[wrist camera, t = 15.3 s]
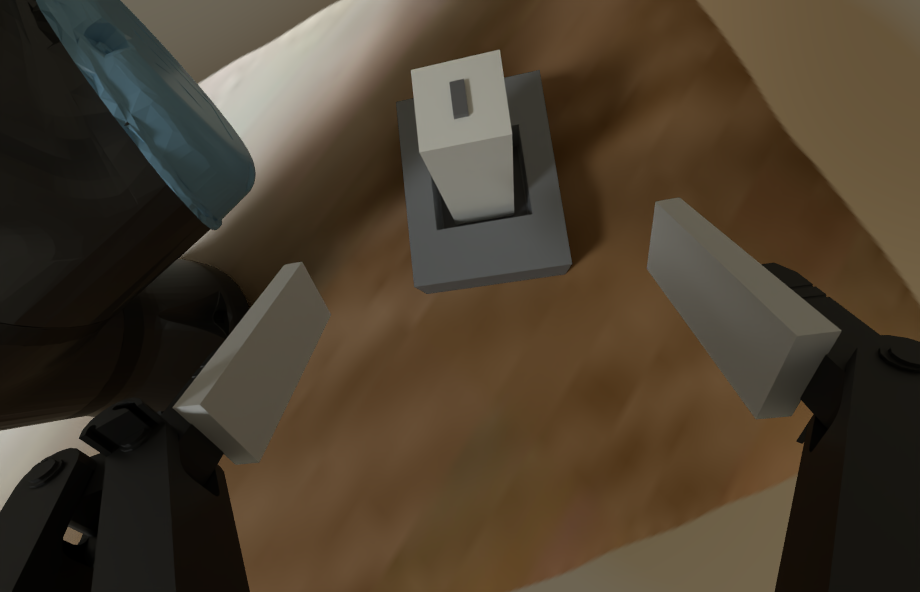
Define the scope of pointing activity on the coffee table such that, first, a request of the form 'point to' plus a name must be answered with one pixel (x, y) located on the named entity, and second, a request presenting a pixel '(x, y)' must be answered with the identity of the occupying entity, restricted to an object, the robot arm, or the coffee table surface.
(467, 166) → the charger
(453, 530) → the coffee table surface
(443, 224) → the block
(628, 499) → the coffee table surface
